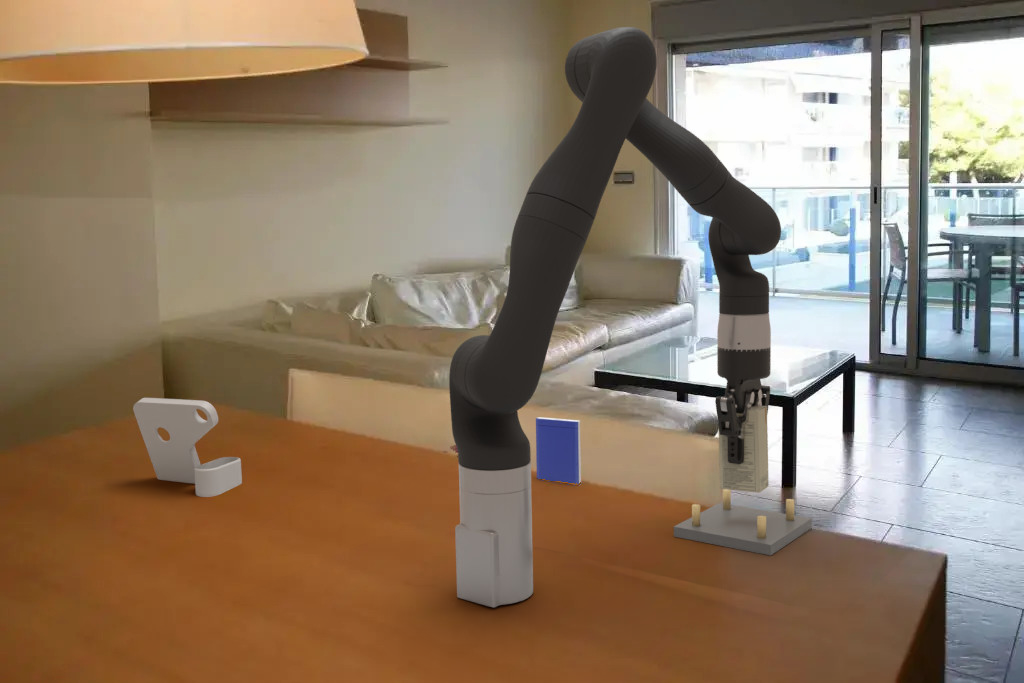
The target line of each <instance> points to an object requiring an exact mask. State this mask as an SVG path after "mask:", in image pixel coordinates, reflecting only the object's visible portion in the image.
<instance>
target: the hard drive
mask: <svg viewBox="0 0 1024 683" xmlns="http://www.w3.org/2000/svg"><path fill="white" fill-rule="evenodd" d="M535 444H536V446H535V447H536V449H535V450H536V451H535V452H536V453H535V454H536V456H535V457H536V458H535V459H536V463H535V464H536V479H537V478H538V479H545V480H550V481H561V482H568V483H575V484H576V483H577V484H579V483H580V482H581V483H582V461H581V460H582V459H581V458H582V456H581V455H582V454H581V453H582V452H581V448H582V447H581V420H576V419H568V418H567V419H565V418H555V417H543V416H542V417H541V416H539V417H538V416H537V417H536V418H535ZM538 479H537V480H538ZM550 481H549V482H550Z"/></svg>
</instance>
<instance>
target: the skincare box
mask: <svg viewBox="0 0 1024 683" xmlns="http://www.w3.org/2000/svg"><path fill="white" fill-rule="evenodd" d="M736 414H737V416H739V417H741V416H743V413H742V414H739V413H736ZM717 425H718V424H717ZM725 426H726V421H725ZM738 428H739V422H738ZM717 431H718V452H719V453H718V459H719V460H718V461H719V462H718V465H719V489H720V490H723V489H727V490H731V491H737V492H748V493H749V492H750V493H762V492H763V491H765V490H766V489H767V488H768V487H769V485H770V484H769V447H768V446H769V444H768V442H769V440H768V439H769V436H768V433H769V432H768V414H767V406H753V407H751V409H750V410H749V422H748V423H746V424H745V432H744V437H743V439H744V462H743V463H741V464H733V463H729V462H728V438H727V437H725V436H724V435H720V433H719V425H718V430H717Z"/></svg>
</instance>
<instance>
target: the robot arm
mask: <svg viewBox="0 0 1024 683" xmlns="http://www.w3.org/2000/svg"><path fill="white" fill-rule="evenodd" d="M657 61H658V60H657V51H656V48H655V45H654V43H653V40H651V37H649V35H648V34H647V33H646V32H645V31H643V30H642V29H640V28H637V27H634V26H622V27H621V26H619V27H615V28H611V29H608V30H604V31H602V32H598V33H595V34H592V35H589V36H586V37H584V38H582V39H580V40H579V41H577V42H576V43H575V44H573V46H571V48H570V49H569V51H568V53H567V55H566V58H565V63H564V75H565V79H566V81H567V84H568V87H569V89H570V90H571V92H572V94H574V96H575V97H576V98H577V99H578V100H579V101H580V102H581V103H582V104H581V106H580V109H579V112H578V114H577V117H576V118H575V120H574V122H573V123H572V125H571V127H570V128H569V130H568V131H567V133H566V135H565V136H564V137H563V139H562V140H561V141H560V142H559V144H558V145H557V146H556V147H555V149H554V150H553V151H552V153H551V154H550V155H549V157H547V159H546V161H545V162H544V163H543V165H542V166H541V167H540V169H539V170H538V172H537V173H536V175H535V176H534V178H533V180H532V181H531V183H530V186H529V188H528V190H527V192H526V194H525V196H524V199H523V202H522V205H521V207H520V210H519V212H518V215H517V217H516V219H515V223H514V226H513V230H512V234H511V241H510V252H509V274H508V275H509V276H508V284H507V285H508V286H507V291H506V295H505V298H504V301H503V304H502V307H501V309H500V312H499V314H498V316H497V319H496V320H495V323H494V326H493V328H492V329H491V332H490V334H489V335H487V334H481V335H475V336H471V337H470V338H468V339H466V340H464V341H463V342H462V343H461V344H460V345H459V346H458V347H457V349H456V351H455V352H454V353H453V356H452V358H451V361H450V366H449V373H448V374H449V376H448V377H449V378H448V382H449V383H448V385H449V389H448V390H449V403H450V417H451V418H450V420H451V432H452V436H453V441H454V445H456V447H457V450H458V452H457V456H458V457H457V460H458V480H459V481H458V484H459V486H458V488H459V489H458V490H459V492H458V493H459V494H458V495H459V521H460V522H459V524H457V525H455V529H454V530H455V533H454V535H455V562H456V563H455V566H456V567H455V568H456V570H455V571H456V597H457V598H458V599H462V600H464V601H468V602H472V603H475V604H479V605H483V606H486V607H491V608H497V607H498V606H502V605H511V604H515V603H519V602H523V601H524V600H526V599H529V597H532V594H534V571H533V570H534V569H533V568H534V561H533V560H534V557H533V516H532V514H533V511H532V462H531V460H532V459H531V455H532V454H531V443H530V440H529V438H528V437H527V434H526V433H525V431H524V430H523V427H522V425H521V422H520V420H519V419H520V418H519V413H518V411H519V410H521V409H522V408H524V406H525V405H527V404H528V402H529V401H530V400H531V399H532V397H533V396H534V394H535V391H536V390H537V387H538V386H539V385H538V384H539V381H540V380H541V375H542V372H543V368H544V364H545V362H546V357H547V354H548V351H549V346H550V342H551V338H552V334H553V331H554V328H555V324H556V321H557V317H558V315H559V312H560V308H561V306H562V303H563V301H564V299H565V296H566V294H567V291H568V288H569V287H570V284H571V280H572V279H573V275H574V273H575V269H576V268H577V265H578V262H579V259H580V257H581V255H582V252H583V250H584V247H585V245H586V243H587V240H588V238H589V235H590V232H591V230H592V227H593V225H594V221H595V219H596V216H597V213H598V211H599V210H598V209H599V207H600V204H601V201H602V198H603V196H604V194H605V191H606V188H607V186H608V184H609V181H610V179H611V175H612V174H613V171H614V168H615V165H616V163H617V161H618V157H619V154H620V153H621V150H622V148H623V145H624V143H625V140H627V141H628V142H629V143H630V144H632V146H633V147H635V149H637V150H638V151H639V152H640V153H641V154H642V155H643V156H644V157H645V158H646V159H647V160H648V161H649V162H651V163H652V165H653V166H654V167H655V168H656V169H657V170H658V171H659V172H660V173H661V174H662V175H663V176H664V177H665V178H666V179H667V181H668V182H669V183H670V184H671V185H672V187H674V189H675V190H676V191H677V192H678V193H679V195H680V196H681V197H682V198H683V199H684V201H685V203H687V204H688V205H689V206H690V207H691V208H692V210H693V211H695V212H696V213H697V214H699V215H702V216H705V217H711V221H710V223H709V227H708V245H709V250H710V254H711V259H712V262H713V267H714V271H715V275H716V278H717V282H718V285H719V286H718V287H719V292H718V296H719V299H718V302H719V304H718V312H719V315H718V324H717V333H716V334H717V336H716V337H717V347H716V348H717V349H716V350H717V352H716V354H717V356H716V358H717V362H716V364H717V365H716V366H717V371H716V372H717V375H718V377H720V378H722V379H725V380H726V385H725V386H726V387H725V394H724V395H723V396H716V397H715V401H714V402H715V409H716V416H717V425H719V431H718V434H719V433H720V435H724V436H725V437H727V438H728V462H729V463H733V464H741V463H743V462H744V439H743V437H744V432H745V424H746V423H748V422H749V410H750V409H751V407H753V406H767V415H768V414H769V404H770V395H771V386H769V385H764V384H763V385H762V381H761V380H763V379H767V378H768V377H770V376H771V368H772V367H771V359H772V358H771V357H772V356H771V355H772V354H771V352H772V351H771V347H772V346H771V343H772V342H771V341H772V340H771V339H772V338H771V336H772V335H771V334H772V330H771V329H772V328H771V321H770V282H769V279H768V277H767V276H766V275H765V274H764V273H762V272H759V271H756V270H755V269H754V268H753V267H752V263H751V259H750V256H762V255H765V254H768V253H770V252H772V251H773V250H774V249H775V248H776V247H777V246H778V245H779V243H780V241H781V236H782V226H781V222H780V219H779V217H778V215H777V213H776V212H775V210H774V209H773V207H772V206H771V205H770V203H768V202H767V201H766V200H765V199H764V198H762V197H761V196H760V195H758V194H757V193H756V192H754V191H753V190H752V189H751V188H750V187H748V186H746V185H745V184H744V183H742V182H741V181H739V180H738V179H736V178H735V177H734V176H733V175H732V173H730V171H729V170H728V168H727V167H726V166H725V164H724V163H723V162H722V161H721V159H720V158H718V156H717V154H715V152H713V150H712V149H711V148H710V147H709V145H707V143H705V142H704V140H702V139H700V138H699V137H698V136H697V135H695V133H692V131H690V130H688V129H687V128H685V127H684V126H682V125H680V124H679V123H678V122H676V121H675V120H674V119H672V118H670V117H669V116H668V115H667V114H665V113H663V112H662V111H661V110H659V108H658V107H656V106H655V105H654V104H653V103H652V102H650V101H649V99H648V98H647V97H648V94H649V93H650V90H651V89H652V86H653V84H654V80H655V76H656V72H657V63H658V62H657ZM736 413H739V414H742V413H743V416H741V417H739V416H737V414H736ZM725 421H726V426H725ZM738 422H739V428H738Z"/></svg>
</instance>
